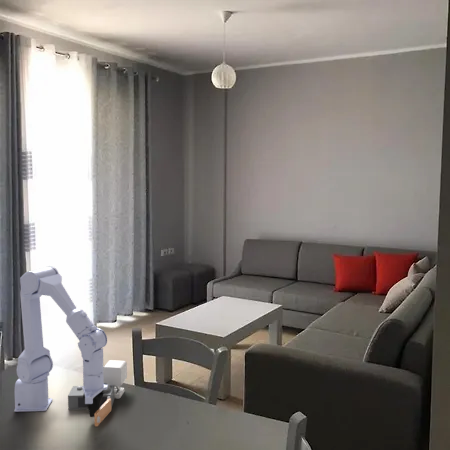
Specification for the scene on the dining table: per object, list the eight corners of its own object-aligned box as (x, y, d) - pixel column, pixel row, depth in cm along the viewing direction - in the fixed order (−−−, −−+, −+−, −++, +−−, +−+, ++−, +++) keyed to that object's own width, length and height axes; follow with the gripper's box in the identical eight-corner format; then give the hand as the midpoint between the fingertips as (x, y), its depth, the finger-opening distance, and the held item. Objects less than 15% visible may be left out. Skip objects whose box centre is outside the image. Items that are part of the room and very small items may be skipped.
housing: (68, 409, 160) (67, 390, 159) (73, 399, 167) (73, 380, 166) (111, 409, 161) (110, 389, 160) (114, 398, 168) (114, 379, 167)
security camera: (127, 389, 175) (126, 360, 174) (121, 398, 168) (120, 368, 167) (108, 388, 175) (108, 359, 174) (101, 397, 169) (101, 367, 167)
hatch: (108, 408, 161) (107, 396, 160) (114, 409, 160) (114, 396, 160) (92, 425, 150) (92, 412, 149) (99, 426, 149) (98, 413, 149)
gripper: (103, 382, 144) (103, 428, 146) (111, 362, 158) (111, 404, 160) (77, 382, 144) (78, 428, 145) (87, 362, 158) (88, 404, 160)
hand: (94, 416), depth 153 cm, fingers closed, pressing on hatch
